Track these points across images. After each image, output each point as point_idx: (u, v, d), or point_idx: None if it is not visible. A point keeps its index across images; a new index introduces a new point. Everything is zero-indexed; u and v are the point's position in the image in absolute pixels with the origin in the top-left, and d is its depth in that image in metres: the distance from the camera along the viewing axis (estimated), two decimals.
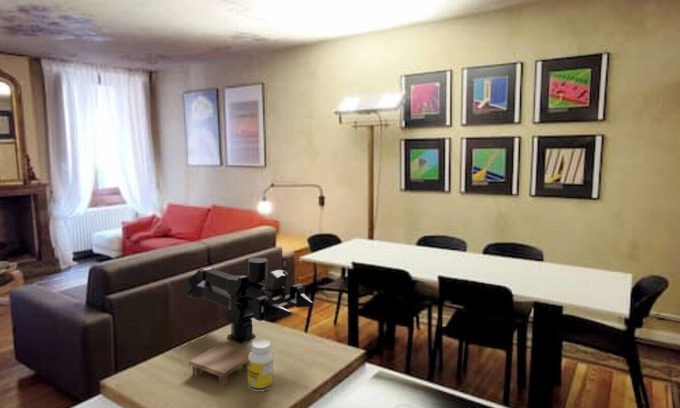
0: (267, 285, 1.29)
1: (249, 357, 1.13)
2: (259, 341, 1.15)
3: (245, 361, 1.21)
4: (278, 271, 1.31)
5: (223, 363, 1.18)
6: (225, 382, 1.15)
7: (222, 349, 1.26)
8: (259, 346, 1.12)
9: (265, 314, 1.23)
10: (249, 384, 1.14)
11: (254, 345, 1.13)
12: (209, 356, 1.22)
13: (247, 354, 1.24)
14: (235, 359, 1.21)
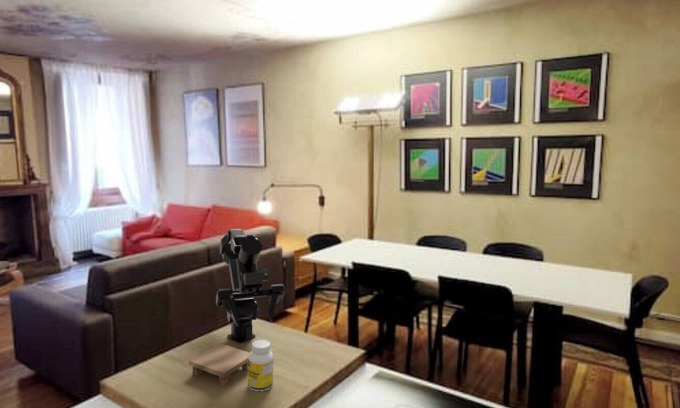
0: (243, 278, 1.23)
1: (249, 357, 1.13)
2: (259, 341, 1.15)
3: (245, 361, 1.21)
4: (257, 274, 1.21)
5: (223, 363, 1.18)
6: (225, 382, 1.15)
7: (222, 349, 1.26)
8: (259, 346, 1.12)
9: (223, 306, 1.23)
10: (249, 384, 1.14)
11: (254, 345, 1.13)
12: (209, 356, 1.22)
13: (247, 354, 1.24)
14: (235, 359, 1.21)
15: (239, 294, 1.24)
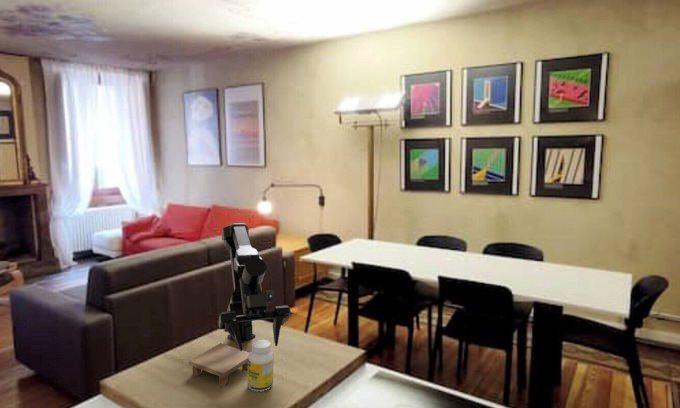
0: (247, 300, 1.18)
1: (249, 357, 1.13)
2: (259, 341, 1.15)
3: (245, 361, 1.21)
4: (262, 296, 1.16)
5: (223, 363, 1.18)
6: (225, 382, 1.15)
7: (222, 349, 1.26)
8: (259, 346, 1.12)
9: (226, 329, 1.18)
10: (249, 384, 1.14)
11: (254, 345, 1.13)
12: (209, 356, 1.22)
13: (247, 354, 1.24)
14: (235, 359, 1.21)
15: (243, 317, 1.19)
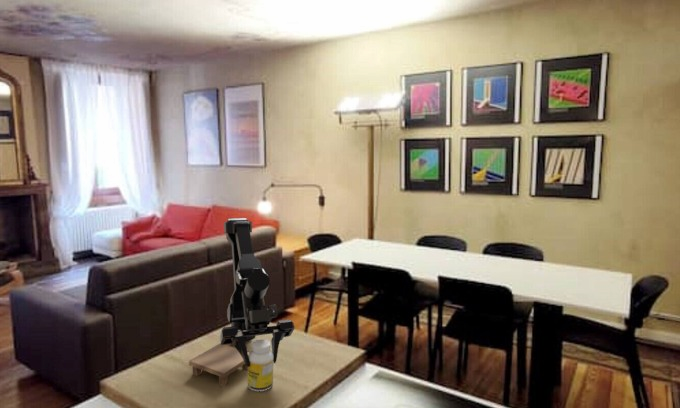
0: (249, 315, 1.16)
1: (249, 357, 1.13)
2: (259, 341, 1.15)
3: None
4: (264, 312, 1.13)
5: (223, 363, 1.18)
6: (225, 382, 1.15)
7: (222, 349, 1.26)
8: (259, 346, 1.12)
9: (232, 344, 1.16)
10: (249, 384, 1.14)
11: (254, 345, 1.13)
12: (209, 356, 1.22)
13: None
14: (235, 359, 1.21)
15: (245, 332, 1.16)
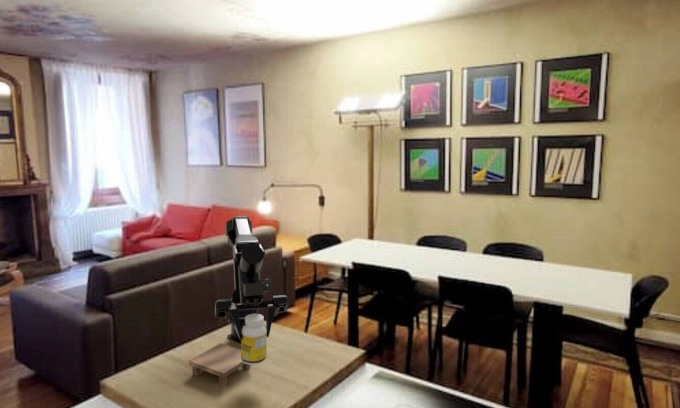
0: (243, 289, 1.15)
1: (242, 330, 1.13)
2: (252, 315, 1.15)
3: None
4: (258, 285, 1.13)
5: (223, 363, 1.18)
6: (225, 382, 1.15)
7: (222, 349, 1.26)
8: (252, 320, 1.12)
9: (226, 317, 1.16)
10: (242, 357, 1.14)
11: (247, 318, 1.13)
12: (209, 356, 1.22)
13: None
14: (235, 359, 1.21)
15: (239, 305, 1.16)
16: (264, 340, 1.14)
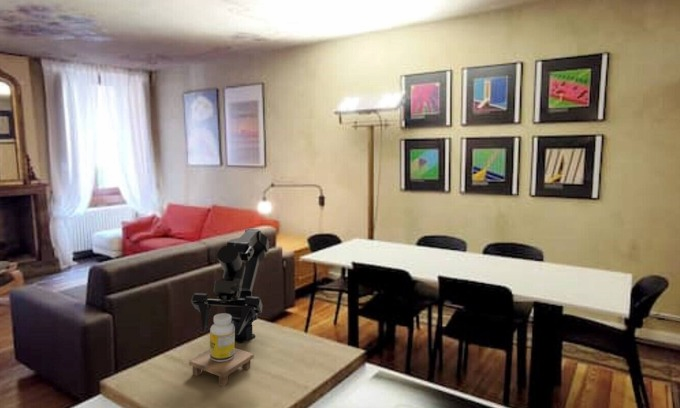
0: None
1: None
2: (223, 314, 1.21)
3: (245, 361, 1.21)
4: (225, 283, 1.18)
5: (223, 363, 1.18)
6: (225, 382, 1.15)
7: None
8: (218, 318, 1.18)
9: (199, 310, 1.24)
10: (210, 352, 1.21)
11: (215, 316, 1.20)
12: (209, 356, 1.22)
13: (247, 354, 1.24)
14: (235, 359, 1.21)
15: (214, 301, 1.23)
16: (228, 340, 1.19)
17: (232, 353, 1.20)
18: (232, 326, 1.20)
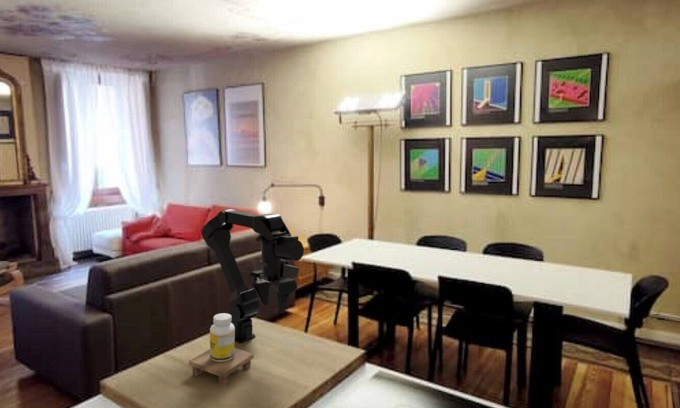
0: (289, 269, 1.32)
1: None
2: (223, 314, 1.21)
3: (245, 361, 1.21)
4: None
5: (223, 363, 1.18)
6: (225, 382, 1.15)
7: None
8: (218, 318, 1.18)
9: None
10: (210, 352, 1.21)
11: (215, 316, 1.19)
12: (209, 356, 1.22)
13: (247, 354, 1.24)
14: (235, 359, 1.21)
15: None
16: (228, 340, 1.19)
17: (232, 353, 1.20)
18: (232, 326, 1.20)
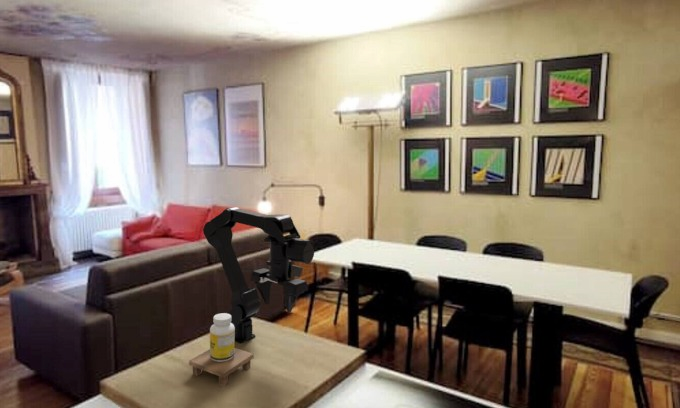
0: (295, 269, 1.34)
1: None
2: (223, 314, 1.21)
3: (245, 361, 1.21)
4: None
5: (223, 363, 1.18)
6: (225, 382, 1.15)
7: None
8: (218, 318, 1.18)
9: None
10: (210, 352, 1.21)
11: (215, 316, 1.19)
12: (209, 356, 1.22)
13: (247, 354, 1.24)
14: (235, 359, 1.21)
15: None
16: (228, 340, 1.19)
17: (232, 353, 1.20)
18: (232, 326, 1.20)
